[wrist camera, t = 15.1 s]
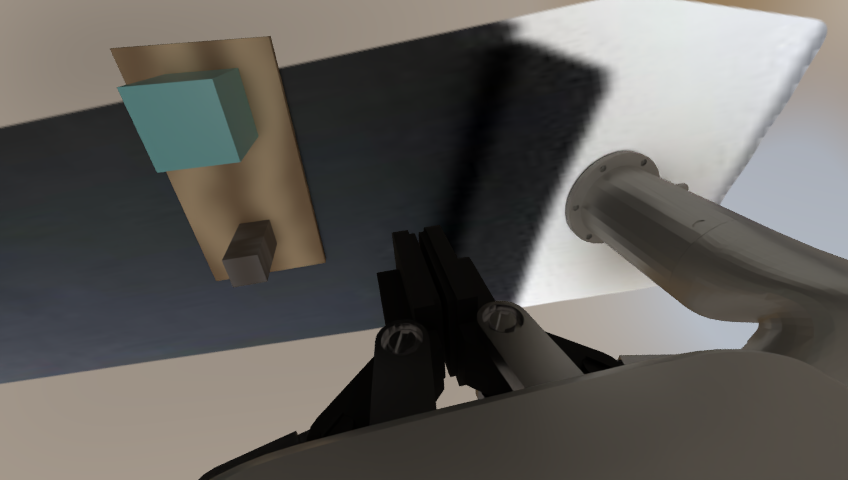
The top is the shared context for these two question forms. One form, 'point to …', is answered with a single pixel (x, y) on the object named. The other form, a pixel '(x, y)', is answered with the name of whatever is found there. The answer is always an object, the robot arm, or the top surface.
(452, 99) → the top surface
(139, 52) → the post board
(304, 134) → the top surface
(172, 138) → the teal rectangular block
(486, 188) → the top surface
